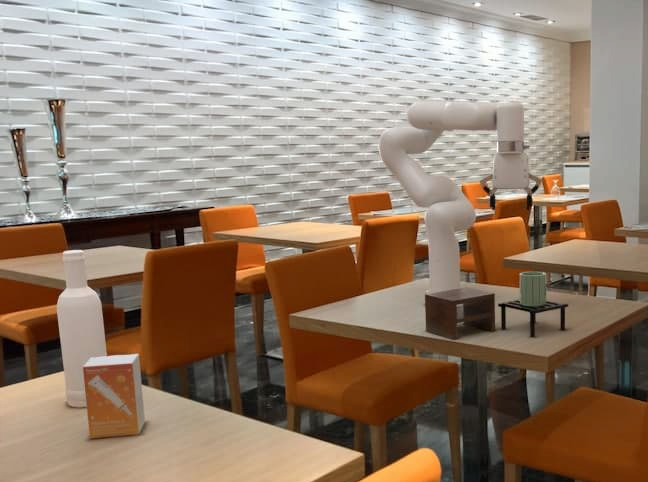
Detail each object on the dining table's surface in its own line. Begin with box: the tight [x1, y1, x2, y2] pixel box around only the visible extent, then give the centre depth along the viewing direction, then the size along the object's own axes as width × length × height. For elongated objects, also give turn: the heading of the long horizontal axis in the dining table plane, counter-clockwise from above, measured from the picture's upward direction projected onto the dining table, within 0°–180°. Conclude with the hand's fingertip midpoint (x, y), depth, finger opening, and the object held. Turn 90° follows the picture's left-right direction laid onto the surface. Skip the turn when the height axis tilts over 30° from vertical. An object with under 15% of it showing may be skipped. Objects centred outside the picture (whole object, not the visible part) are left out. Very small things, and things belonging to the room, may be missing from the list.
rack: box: [497, 299, 569, 338], centre depth 198 cm, size 13×13×7 cm
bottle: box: [56, 249, 108, 408], centre depth 146 cm, size 8×8×30 cm
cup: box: [519, 271, 547, 306], centre depth 197 cm, size 7×7×8 cm
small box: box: [83, 353, 146, 439], centre depth 131 cm, size 8×6×13 cm
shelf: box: [424, 287, 496, 340], centre depth 198 cm, size 12×14×10 cm
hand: (510, 209), depth 211 cm, fingers open, 9 cm apart
